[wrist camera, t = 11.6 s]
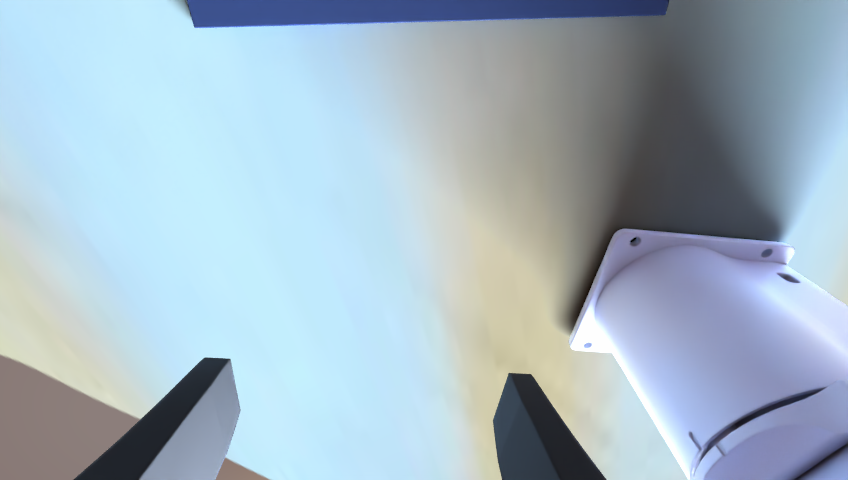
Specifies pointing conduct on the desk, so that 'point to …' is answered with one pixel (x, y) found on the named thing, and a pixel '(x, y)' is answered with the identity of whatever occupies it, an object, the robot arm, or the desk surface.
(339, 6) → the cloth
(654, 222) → the desk surface
